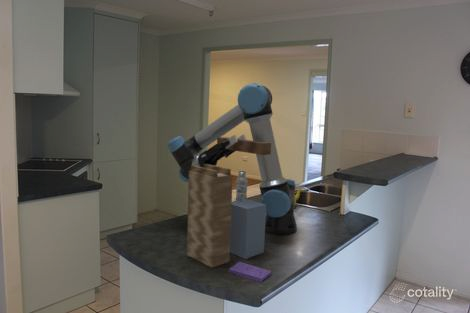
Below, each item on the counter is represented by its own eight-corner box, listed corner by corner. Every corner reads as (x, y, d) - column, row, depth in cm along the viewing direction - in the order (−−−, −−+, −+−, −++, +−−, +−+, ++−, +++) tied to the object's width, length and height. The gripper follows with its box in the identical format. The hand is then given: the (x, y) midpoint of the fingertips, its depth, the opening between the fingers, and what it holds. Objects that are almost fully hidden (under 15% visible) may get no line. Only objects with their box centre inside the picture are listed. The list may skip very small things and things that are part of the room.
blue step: (226, 250, 144) (228, 203, 142) (244, 244, 151) (246, 199, 149) (245, 259, 137) (247, 209, 135) (263, 252, 144) (266, 204, 142)
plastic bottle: (246, 210, 199) (247, 173, 197) (233, 209, 201) (234, 172, 198) (248, 207, 206) (249, 171, 203) (235, 206, 207) (237, 170, 204)
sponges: (261, 284, 120) (261, 278, 119) (227, 273, 126) (228, 268, 126) (271, 276, 126) (271, 270, 125) (239, 266, 132) (239, 261, 132)
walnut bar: (217, 147, 148) (217, 137, 148) (224, 147, 151) (224, 137, 151) (263, 155, 131) (263, 143, 131) (270, 154, 134) (271, 143, 134)
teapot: (289, 212, 200) (290, 190, 199) (267, 206, 209) (268, 185, 208) (302, 207, 211) (304, 186, 210) (280, 202, 220) (281, 182, 218)
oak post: (187, 255, 139) (188, 165, 134) (204, 249, 144) (206, 163, 140) (212, 267, 129) (215, 171, 124) (229, 261, 134) (232, 169, 130)
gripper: (223, 168, 163) (259, 146, 147) (191, 172, 151) (226, 148, 135) (217, 152, 164) (252, 128, 148) (185, 155, 153) (220, 129, 137)
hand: (240, 138), depth 142 cm, fingers closed on walnut bar, 4 cm apart
